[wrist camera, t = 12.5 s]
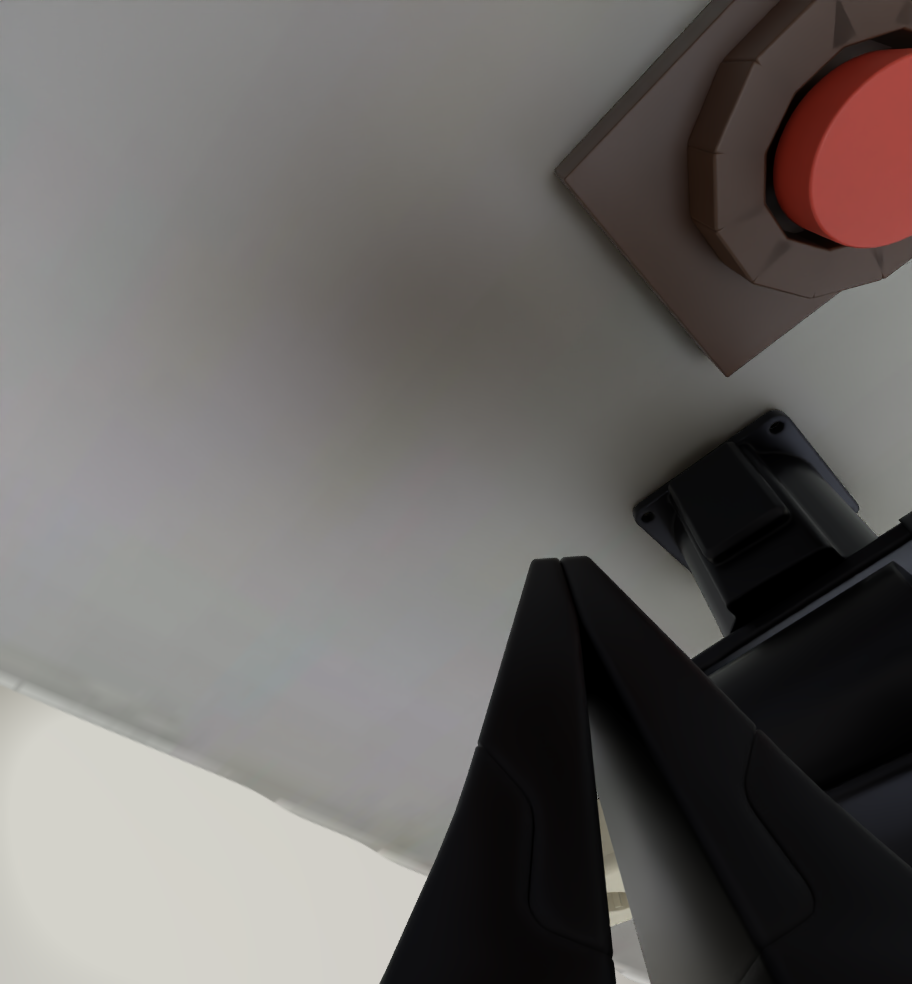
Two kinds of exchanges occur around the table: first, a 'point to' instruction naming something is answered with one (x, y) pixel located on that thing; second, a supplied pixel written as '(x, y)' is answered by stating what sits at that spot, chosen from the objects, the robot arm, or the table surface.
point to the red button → (851, 153)
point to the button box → (730, 170)
